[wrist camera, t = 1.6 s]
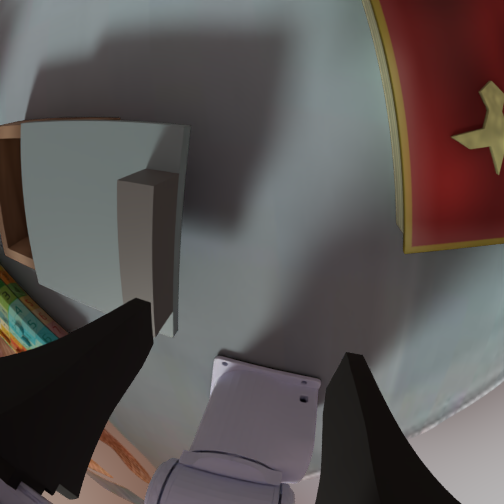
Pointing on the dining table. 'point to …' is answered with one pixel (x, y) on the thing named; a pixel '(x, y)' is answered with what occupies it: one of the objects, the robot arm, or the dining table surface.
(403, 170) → the hardcover book
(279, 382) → the robot arm
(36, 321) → the puzzle game
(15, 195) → the box
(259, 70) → the dining table surface
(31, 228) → the lid
